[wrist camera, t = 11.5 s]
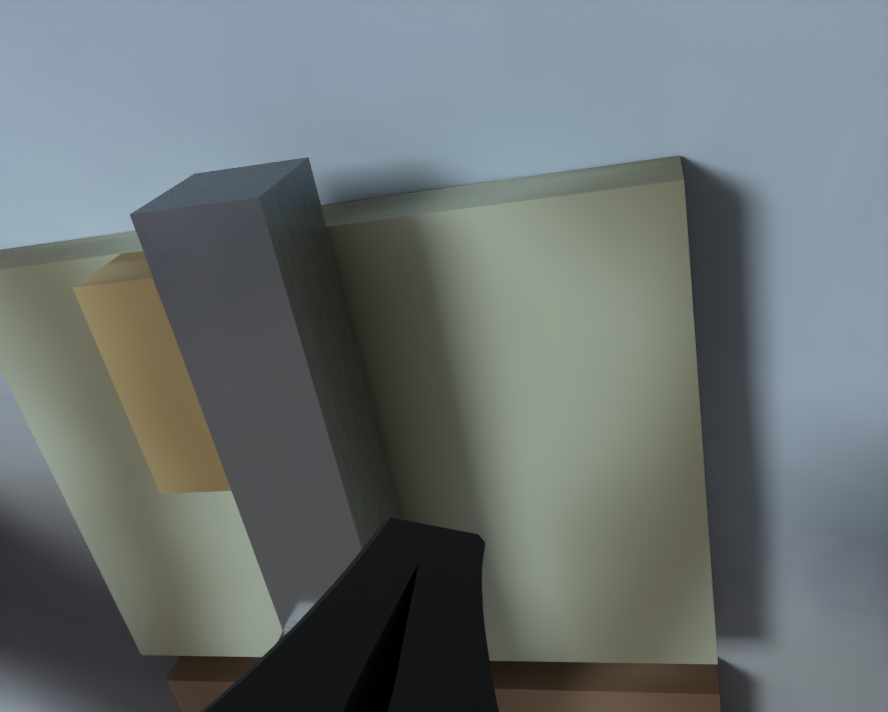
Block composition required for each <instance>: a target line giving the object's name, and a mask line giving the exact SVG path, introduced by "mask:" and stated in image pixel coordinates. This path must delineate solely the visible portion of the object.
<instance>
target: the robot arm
mask: <svg viewBox="0 0 888 712" xmlns="http://www.w3.org/2000/svg"><path fill="white" fill-rule="evenodd" d="M484 550H485V541H484V540H483V539H482V538H481V537H480V535H479V534H475V533H470V532H464V531H459V530H454V529H449V528H443V527H438V526H433V525H428V524H422V523H417V522H412V521H407V520H401V519H396V518H391V517H390V518H389V519H387V520H385V521H383V522H382V523H381V524H380V526H379V527H378V529H377V530H376V531H375V533H374V534H373V536H372V537H371V538H370V540H369V541H368V542H367V543H366V545H365V546H364V547H363V549H362V550H361V551H360V552H359V554H358V555H357V556H356V557H355V559H354V560H353V561H352V562H351V564H350V565H349V566H348V567H347V568H346V569H345V571H344V572H343V573H342V574H341V575H340V576H339V578H338V579H337V580H336V581H335V582H334V583H333V585H332V586H331V587H330V588H329V589H328V590H327V591H326V592H325V593H324V594H323V596H322V597H321V598H320V599H319V600H318V601H317V602H316V603H315V604H314V605H313V606H312V607H311V609H310V610H309V611H308V612H307V613H306V614H305V615H304V616H303V617H302V618H301V619H300V620H299V621H298V622H297V624H296V625H295V626H294V627H293V628H292V629H291V630H290V631H289V632H288V633H287V634H286V635H284V636H283V637H282V638H281V639H280V640H279V641H278V642H277V643H276V644H275V645H274V646H273V647H272V648H271V649H270V650H269V651H268V652H267V653H266V654H265V655H264V656H263V657H262V658H261V659H260V660H259V661H258V662H257V663H255V664H254V665H253V666H252V667H251V668H250V669H249V670H248V671H247V672H246V673H245V674H244V675H243V676H242V677H240V678H239V679H238V680H237V681H236V682H235V683H234V684H233V685H231V686H230V687H229V688H228V689H227V690H226V691H225V692H223V693H222V694H221V695H220V696H219V697H218V698H216V699H215V700H214V701H213V702H212V703H210V704H209V705H208V706H207V707H206V708H204V709H203V710H202V711H201V712H499V709H498V705H497V700H496V695H495V690H494V684H493V679H492V674H491V667H490V660H489V653H488V647H487V640H486V633H485V624H484V614H483V598H482V565H483V557H484Z"/></svg>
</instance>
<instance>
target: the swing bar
mask: <svg viewBox="0 0 888 712" xmlns="http://www.w3.org/2000/svg"><path fill="white" fill-rule="evenodd" d="M130 216H131V219H132V221H133V224H134V227H135V230H136V232H137V235H138V238H139V241H140V243H141V246H142V249H143V251H144V254H145V257H146V260H147V262H148V265H149V268H150V271H151V273H152V276H153V279H154V281H155V284H156V287H157V290H158V292H159V295H160V298H161V300H162V303H163V306H164V309H165V311H166V314H167V317H168V320H169V322H170V325H171V328H172V330H173V333H174V336H175V339H176V341H177V344H178V347H179V349H180V352H181V355H182V358H183V360H184V363H185V366H186V369H187V371H188V374H189V377H190V379H191V382H192V385H193V388H194V390H195V393H196V396H197V398H198V401H199V404H200V407H201V409H202V412H203V415H204V418H205V420H206V423H207V426H208V428H209V431H210V434H211V437H212V439H213V442H214V445H215V447H216V450H217V453H218V456H219V458H220V461H221V464H222V467H223V469H224V472H225V475H226V477H227V480H228V483H229V486H230V488H231V491H232V494H233V496H234V499H235V502H236V505H237V507H238V510H239V513H240V516H241V518H242V521H243V524H244V526H245V529H246V532H247V535H248V537H249V540H250V543H251V545H252V548H253V551H254V554H255V556H256V559H257V562H258V565H259V567H260V570H261V573H262V575H263V578H264V581H265V584H266V586H267V589H268V592H269V594H270V597H271V600H272V603H273V605H274V608H275V611H276V614H277V616H278V619H279V622H280V624H281V627H282V630H283V631H282V633H281V635H280V638H279V640H280V639H281V638H282V637H283V636H284V635H286V634H287V633H288V632H289V631H290V630H291V629H292V628H293V627H294V626H295V625H296V624H297V622H298V621H299V620H300V619H301V618H302V617H303V616H304V615H305V614H306V613H307V612H308V611H309V610H310V609H311V607H312V606H313V605H314V604H315V603H316V602H317V601H318V600H319V599H320V598H321V597H322V596H323V594H324V593H325V592H326V591H327V590H328V589H329V588H330V587H331V586H332V585H333V583H334V582H335V581H336V580H337V579H338V578H339V576H340V575H341V574H342V573H343V572H344V571H345V569H346V568H347V567H348V566H349V565H350V564H351V562H352V561H353V560H354V559H355V557H356V556H357V555H358V554H359V552H360V551H361V550H362V549H363V547H364V546H365V545H366V543H367V542H368V541H369V540H370V538H371V537H372V536H373V534H374V533H375V531H376V530H377V529H378V527H379V526H380V524H381V523H382V522H383V521H385V520H387V519H389V518H390V517H391V518H396V519H401V520H403V519H402V515H401V512H400V508H399V504H398V500H397V496H396V492H395V488H394V485H393V481H392V477H391V473H390V469H389V465H388V462H387V458H386V454H385V450H384V446H383V442H382V438H381V435H380V431H379V427H378V423H377V419H376V415H375V412H374V408H373V404H372V400H371V396H370V392H369V388H368V385H367V381H366V377H365V373H364V369H363V365H362V362H361V358H360V354H359V350H358V346H357V342H356V338H355V335H354V331H353V327H352V323H351V319H350V315H349V311H348V308H347V304H346V300H345V296H344V292H343V288H342V285H341V281H340V277H339V273H338V269H337V265H336V261H335V258H334V254H333V250H332V246H331V242H330V238H329V235H328V231H327V227H326V223H325V219H324V215H323V211H322V208H321V204H320V200H319V196H318V192H317V188H316V185H315V181H314V177H313V173H312V169H311V165H310V161H309V158H301V159H294V160H287V161H280V162H273V163H266V164H259V165H252V166H245V167H238V168H231V169H224V170H218V171H211V172H204V173H197V174H193V175H192V176H190V177H188V178H187V179H185V180H184V181H182V182H181V183H179V184H177V185H176V186H174V187H173V188H171V189H170V190H168V191H166V192H165V193H163V194H162V195H160V196H158V197H157V198H155V199H154V200H152V201H151V202H149V203H147V204H146V205H144V206H143V207H141V208H140V209H138V210H136V211H135V212H133V213H132V214H130ZM279 640H278V641H279Z"/></svg>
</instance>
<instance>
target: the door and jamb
mask: <svg viewBox="0 0 888 712" xmlns="http://www.w3.org/2000/svg"><path fill="white" fill-rule="evenodd" d="M321 208H322V211H323V215H324V219H325V223H326V227H327V231H328V235H329V238H330V242H331V246H332V250H333V254H334V258H335V261H336V265H337V269H338V273H339V277H340V281H341V285H342V288H343V292H344V296H345V300H346V304H347V308H348V311H349V315H350V319H351V323H352V327H353V331H354V335H355V338H356V342H357V346H358V350H359V354H360V358H361V362H362V365H363V369H364V373H365V377H366V381H367V385H368V388H369V392H370V396H371V400H372V404H373V408H374V412H375V415H376V419H377V423H378V427H379V431H380V435H381V438H382V442H383V446H384V450H385V454H386V458H387V462H388V465H389V469H390V473H391V477H392V481H393V485H394V488H395V492H396V496H397V500H398V504H399V508H400V512H401V515H402V519H403V520H407V521H412V522H417V523H422V524H428V525H433V526H438V527H443V528H449V529H454V530H459V531H464V532H470V533H475V534H479V535H480V537H481V538H482V539H483V540H484V541H485V550H484V557H483V565H482V598H483V614H484V624H485V633H486V640H487V647H488V653H489V660H490V667H491V674H492V679H493V684H494V690H495V695H496V700H497V705H498V709H499V712H721V706H720V693H719V684H718V674H717V665H716V664H718V657H717V642H716V628H715V614H714V599H713V585H712V571H711V556H710V542H709V528H708V513H707V499H706V485H705V471H704V456H703V442H702V428H701V413H700V399H699V385H698V370H697V356H696V342H695V327H694V313H693V299H692V284H691V270H690V256H689V241H688V227H687V213H686V198H685V184H684V176H683V170H682V164H681V158H680V156H674V157H667V158H659V159H652V160H645V161H638V162H630V163H623V164H616V165H609V166H602V167H594V168H587V169H580V170H573V171H566V172H558V173H551V174H544V175H537V176H530V177H522V178H515V179H508V180H501V181H493V182H486V183H479V184H472V185H465V186H457V187H450V188H443V189H436V190H429V191H421V192H414V193H407V194H400V195H393V196H385V197H378V198H371V199H364V200H357V201H349V202H342V203H335V204H328V205H321ZM0 368H1V370H2V372H3V374H4V376H5V378H6V381H7V383H8V385H9V387H10V389H11V391H12V393H13V395H14V397H15V399H16V401H17V403H18V405H19V407H20V409H21V411H22V413H23V415H24V417H25V419H26V421H27V423H28V425H29V427H30V429H31V431H32V434H33V436H34V438H35V440H36V442H37V444H38V446H39V448H40V450H41V452H42V454H43V456H44V458H45V460H46V462H47V464H48V466H49V468H50V470H51V472H52V474H53V476H54V478H55V480H56V482H57V484H58V486H59V489H60V491H61V493H62V495H63V497H64V499H65V501H66V503H67V505H68V507H69V509H70V511H71V513H72V515H73V517H74V519H75V521H76V523H77V525H78V527H79V529H80V531H81V533H82V535H83V537H84V539H85V542H86V544H87V546H88V548H89V550H90V552H91V554H92V556H93V558H94V560H95V562H96V564H97V566H98V568H99V570H100V572H101V574H102V576H103V578H104V580H105V582H106V584H107V586H108V588H109V590H110V592H111V595H112V597H113V599H114V601H115V603H116V605H117V607H118V609H119V611H120V613H121V615H122V617H123V619H124V621H125V623H126V625H127V627H128V629H129V631H130V633H131V635H132V637H133V639H134V641H135V643H136V645H137V648H138V650H139V652H140V654H141V655H166V656H180V657H179V659H178V660H177V662H176V664H175V665H174V667H173V669H172V670H171V672H170V674H169V675H168V677H167V679H166V680H165V681H166V683H167V685H168V687H169V689H170V691H171V693H172V695H173V697H174V699H175V701H176V703H177V706H178V708H179V710H180V712H201V711H202V710H203V709H204V708H206V707H207V706H208V705H209V704H210V703H212V702H213V701H214V700H215V699H216V698H218V697H219V696H220V695H221V694H222V693H223V692H225V691H226V690H227V689H228V688H229V687H230V686H231V685H233V684H234V683H235V682H236V681H237V680H238V679H239V678H240V677H242V676H243V675H244V674H245V673H246V672H247V671H248V670H249V669H250V668H251V667H252V666H253V665H254V664H255V663H257V662H258V661H259V660H260V659H261V658H262V657H263V656H264V655H265V654H266V653H267V652H268V651H269V650H270V649H271V648H272V647H273V646H274V645H275V644H276V643H277V642H278V640H279V638H280V635H281V633H282V631H283V630H282V627H281V624H280V622H279V619H278V616H277V614H276V611H275V608H274V605H273V603H272V600H271V597H270V594H269V592H268V589H267V586H266V584H265V581H264V578H263V575H262V573H261V570H260V567H259V565H258V562H257V559H256V556H255V554H254V551H253V548H252V545H251V543H250V540H249V537H248V535H247V532H246V529H245V526H244V524H243V521H242V518H241V516H240V513H239V510H238V507H237V505H236V502H235V499H234V496H233V494H232V491H231V488H230V486H229V483H228V480H227V477H226V475H225V472H224V469H223V467H222V464H221V461H220V458H219V456H218V453H217V450H216V447H215V445H214V442H213V439H212V437H211V434H210V431H209V428H208V426H207V423H206V420H205V418H204V415H203V412H202V409H201V407H200V404H199V401H198V398H197V396H196V393H195V390H194V388H193V385H192V382H191V379H190V377H189V374H188V371H187V369H186V366H185V363H184V360H183V358H182V355H181V352H180V349H179V347H178V344H177V341H176V339H175V336H174V333H173V330H172V328H171V325H170V322H169V320H168V317H167V314H166V311H165V309H164V306H163V303H162V300H161V298H160V295H159V292H158V290H157V287H156V284H155V281H154V279H153V276H152V273H151V271H150V268H149V265H148V262H147V260H146V257H145V254H144V251H143V249H142V246H141V243H140V241H139V238H138V235H137V232H136V231H133V232H126V233H119V234H111V235H104V236H97V237H90V238H83V239H75V240H68V241H61V242H54V243H46V244H39V245H32V246H25V247H18V248H10V249H3V250H0Z"/></svg>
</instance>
